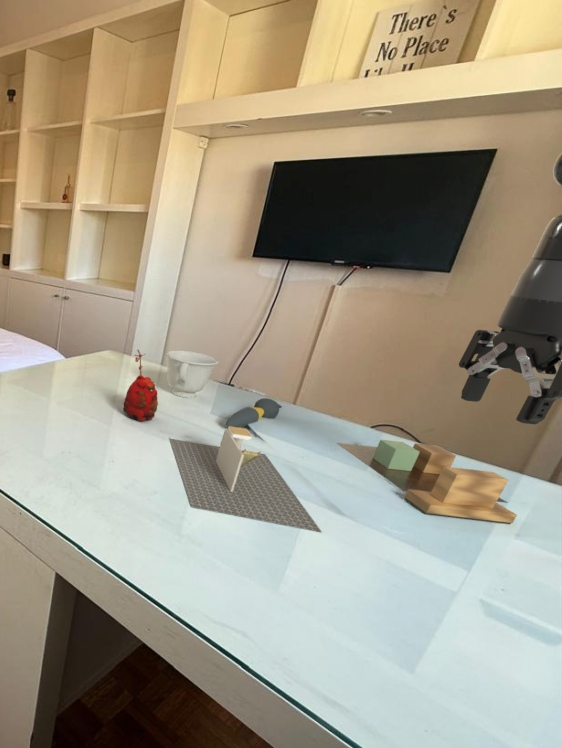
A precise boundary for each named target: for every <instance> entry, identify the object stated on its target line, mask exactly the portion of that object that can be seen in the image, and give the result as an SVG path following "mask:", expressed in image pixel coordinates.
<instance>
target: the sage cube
mask: <svg viewBox="0 0 562 748" xmlns="http://www.w3.org/2000/svg"><path fill="white" fill-rule="evenodd" d="M376 447H377V449H376V451H375V454H374V456H373V459H374V460H376V461H377V462H379V463H380V464H382V465H383V466H385V467H386V468H388V469H396V470H405V471H411V470H412V468H413V466H414V463H415V461H416V459H417V457H418V455H419V453H420V452H419V451H418V450H416V449H414V448H413V446H411V445H409V444H407V443H406V442H404V441H397V440H388V439H380V440H379V442H378V444H377V446H376Z"/></svg>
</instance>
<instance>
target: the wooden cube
mask: <svg viewBox="0 0 562 748" xmlns="http://www.w3.org/2000/svg"><path fill="white" fill-rule="evenodd" d="M412 448H414V449H416V450H418V451H419V452H420V453H419V455H418V457H417V459H416V461H415V463H414V467H415V468H417V469H418V470H420V471H422V472H423V473H432V474H440V473H441V471H442V469H443V467H452V465H453V464H454V461H455V459H456V458H457V455H456V454H454V453H452V452H451V451H449V450H447V449H445V448H443V447H441V446H439V445H436V444H435V445H434V444H424V443H414V444H413V446H412Z"/></svg>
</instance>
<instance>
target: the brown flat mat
mask: <svg viewBox="0 0 562 748" xmlns="http://www.w3.org/2000/svg"><path fill="white" fill-rule="evenodd" d="M336 444H337V445H338V446H340V447H341V448H343V449H344V450H345V451H347V452H348V453H349V454H351V455H352V456H354V457H355V458H356V459H358V460H359V461H361V462H362V463H364V464H365V465H366V466H368V467H369V468H370V469H372V470H373V471H374V472H376V473H378V474H379V475H381V476H382V477H383V478H385V479H386V480H387V481H388V482H390V483H392V484H393V485H394V486H395V487H396V488H399V489H400V490H401V491H403V492H407V490H408V489H411V490H420V491H429V492H432V490H433V487H434V485H435V483H436V481H437V479H438V477H439V475H440V474H432V473H423V472H422V471H420V470H418V469H417V468H415V467H414V466H413V468H412V470H411V471H405V470H396V469H388V468H386V467H385V466H383V465H382V464H380V463H379V462H377V461H376V460H374V459H373V456H374V454H375V451H376V449H377V446H371V445H361V444H351V443H342V442H336ZM498 502H499V503H507V504H508V503H509V502H508V501H506V500H504V499H503V498H501V497H499V498H498V500H497V502H496V503H498Z"/></svg>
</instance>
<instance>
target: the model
mask: <svg viewBox="0 0 562 748" xmlns="http://www.w3.org/2000/svg"><path fill="white" fill-rule="evenodd" d="M252 438H253V436H252V434H251V433H250V432H249V430H248V429H247V428H244V427H239V428H238V427H231V426H228V427H225V428H224V431H223V434H222V437H221V441H220V445H219V446H218V447H219V448H218V452H217V455H216V459H215V462H216V464H217V466H218V468H219V470H220V472H221V474H222V476H223V478H224V480H225V482H226V484H227V486H228V488H229V491H230V492H233V491H234V490H235V486H236V483H237V480H238V477H239V473H240V470H241V467H243V466H245V465H246V464H248V463H250V462H251V461H253V460H255V459H256V458H258V457H259V456H260V455H261V454H262V452H261V451H258V452H257V451H251V450H247V449H246V448H244V449H243V450H242V444H243V440H246V441H251V440H252Z"/></svg>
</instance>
